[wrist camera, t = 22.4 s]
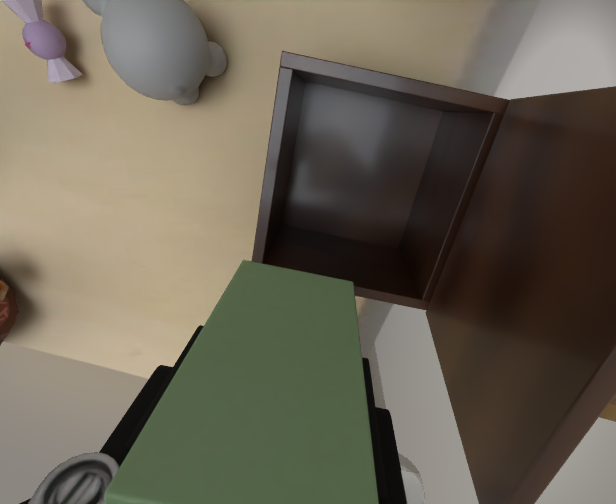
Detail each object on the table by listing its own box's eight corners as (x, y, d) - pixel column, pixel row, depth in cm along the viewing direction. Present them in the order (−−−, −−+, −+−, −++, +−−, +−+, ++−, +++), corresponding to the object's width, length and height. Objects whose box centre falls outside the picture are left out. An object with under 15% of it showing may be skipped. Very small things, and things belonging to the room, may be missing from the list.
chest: (273, 227, 35) (249, 274, 25) (299, 70, 29) (281, 50, 19) (402, 254, 35) (429, 311, 25) (452, 103, 30) (513, 100, 20)
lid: (486, 532, 12) (649, 582, 11) (810, 60, 6) (1166, 124, 6) (425, 313, 25) (499, 332, 25) (509, 98, 19) (609, 119, 19)
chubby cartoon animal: (143, -75, 26) (63, -153, 18) (243, 66, 30) (210, 51, 22) (85, -7, 28) (-10, -51, 20) (184, 119, 32) (135, 122, 24)
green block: (316, 418, 13) (299, 725, 6) (225, 400, 13) (117, 691, 6) (354, 281, 11) (385, 549, 4) (242, 258, 11) (101, 494, 4)
